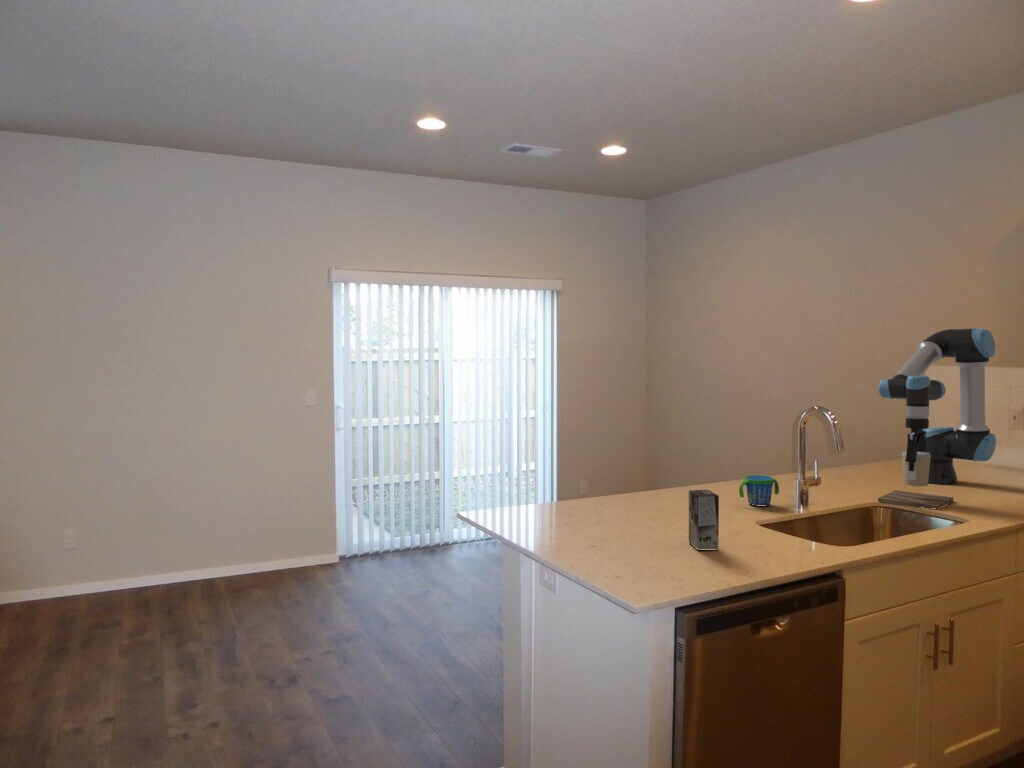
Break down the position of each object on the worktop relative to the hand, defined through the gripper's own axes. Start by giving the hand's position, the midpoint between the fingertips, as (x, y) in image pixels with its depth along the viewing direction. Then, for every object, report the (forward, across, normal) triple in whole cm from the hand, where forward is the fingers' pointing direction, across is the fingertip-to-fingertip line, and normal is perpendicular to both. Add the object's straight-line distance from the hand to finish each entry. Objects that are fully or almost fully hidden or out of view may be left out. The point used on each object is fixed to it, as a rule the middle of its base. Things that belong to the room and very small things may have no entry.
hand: (916, 477), depth 271 cm
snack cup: (+9, +44, -40) cm, 60 cm away
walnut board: (+9, 0, 0) cm, 9 cm away
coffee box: (+10, +108, -26) cm, 111 cm away
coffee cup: (+3, 0, 0) cm, 3 cm away
